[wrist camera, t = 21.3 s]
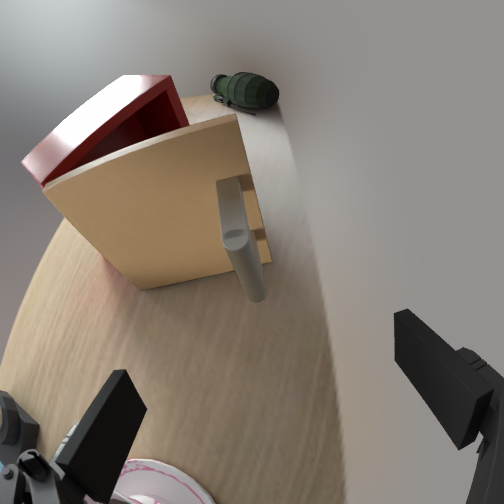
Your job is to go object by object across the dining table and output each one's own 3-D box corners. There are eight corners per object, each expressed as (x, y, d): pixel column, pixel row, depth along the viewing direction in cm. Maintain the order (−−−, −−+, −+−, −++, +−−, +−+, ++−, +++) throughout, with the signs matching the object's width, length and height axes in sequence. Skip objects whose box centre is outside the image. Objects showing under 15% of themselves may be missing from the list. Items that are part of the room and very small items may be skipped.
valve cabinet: (217, 194, 32) (171, 74, 19) (137, 284, 28) (40, 183, 15) (171, 175, 35) (123, 75, 23) (100, 250, 31) (20, 162, 18)
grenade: (266, 72, 33) (210, 64, 39) (252, 114, 36) (198, 100, 42) (289, 84, 38) (233, 73, 43) (275, 122, 40) (222, 106, 46)
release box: (-4, 458, 17) (-26, 455, 14) (9, 385, 23) (-14, 376, 20) (28, 494, 15) (4, 494, 12) (41, 415, 21) (15, 409, 18)
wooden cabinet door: (284, 315, 23) (253, 187, 11) (140, 341, 24) (18, 260, 12) (270, 254, 27) (235, 112, 14) (141, 283, 27) (45, 183, 15)
